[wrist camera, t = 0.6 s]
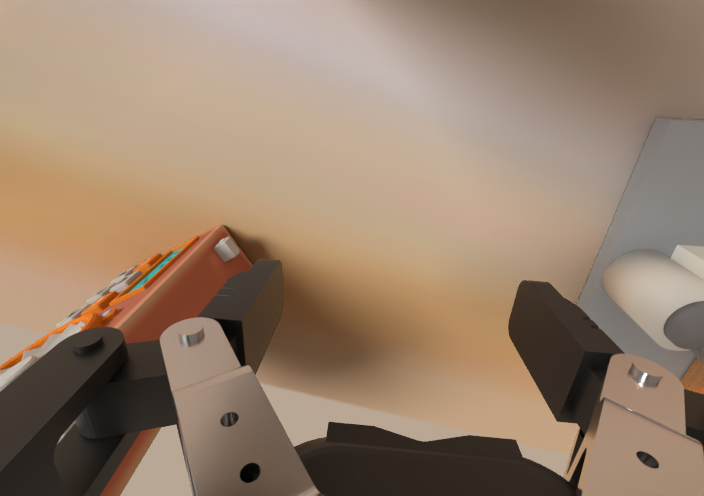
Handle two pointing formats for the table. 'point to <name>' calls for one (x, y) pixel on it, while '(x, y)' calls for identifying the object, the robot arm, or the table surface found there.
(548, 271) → the table surface
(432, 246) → the table surface
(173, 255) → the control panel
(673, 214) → the levelling plate
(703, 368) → the knob
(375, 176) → the table surface
